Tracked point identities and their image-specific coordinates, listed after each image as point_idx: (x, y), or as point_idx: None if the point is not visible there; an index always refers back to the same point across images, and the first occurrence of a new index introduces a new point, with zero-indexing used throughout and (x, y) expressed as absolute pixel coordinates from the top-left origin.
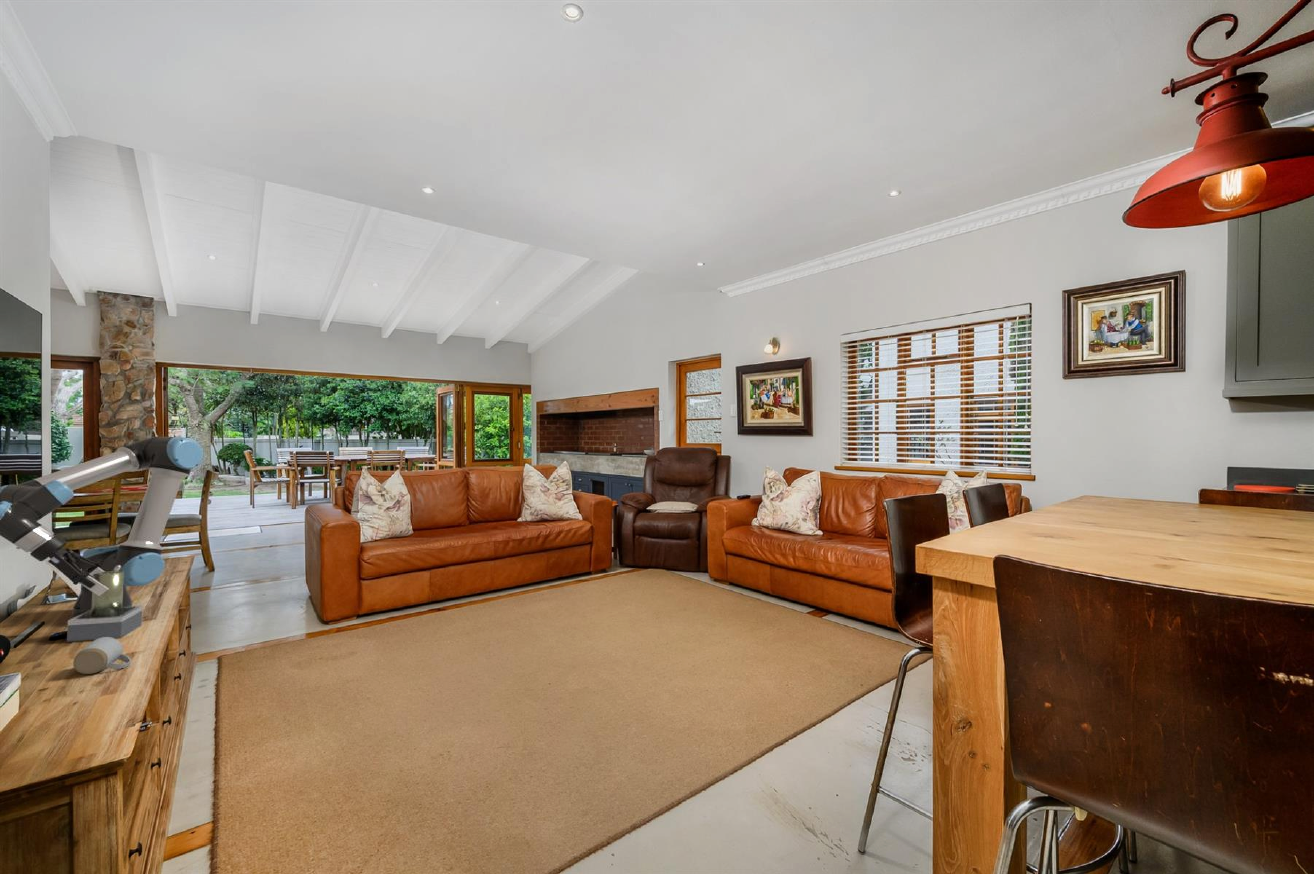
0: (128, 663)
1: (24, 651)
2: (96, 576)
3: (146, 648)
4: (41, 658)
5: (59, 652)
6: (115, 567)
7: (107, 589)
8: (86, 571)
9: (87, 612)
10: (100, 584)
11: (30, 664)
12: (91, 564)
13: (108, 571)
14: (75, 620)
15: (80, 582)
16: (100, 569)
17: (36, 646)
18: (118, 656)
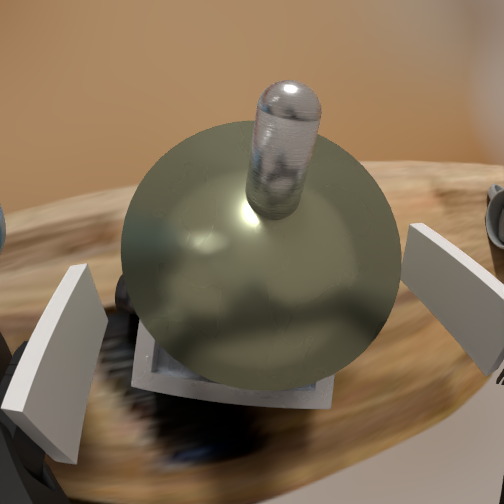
0: (499, 187)
1: (360, 456)
2: (382, 320)
3: (418, 175)
4: (435, 377)
5: (405, 361)
6: (312, 129)
7: (422, 227)
8: (62, 492)
9: (203, 387)
10: (459, 249)
11: (464, 374)
12: (19, 486)
13: (134, 275)
14: (332, 383)
15: (498, 360)
16: (31, 379)
17: (320, 454)
18: (499, 199)
